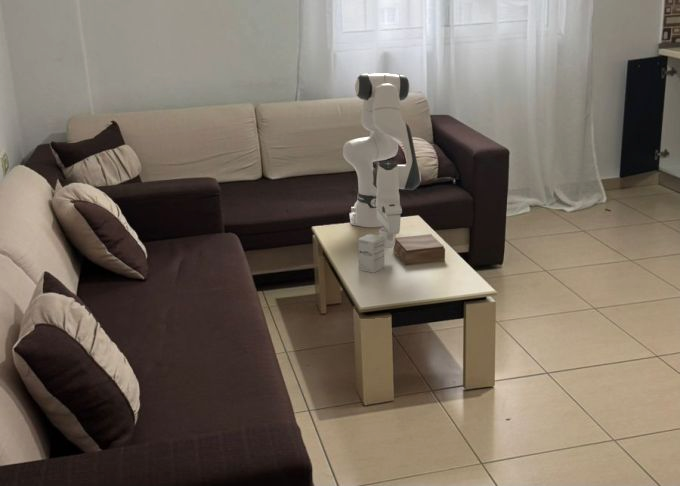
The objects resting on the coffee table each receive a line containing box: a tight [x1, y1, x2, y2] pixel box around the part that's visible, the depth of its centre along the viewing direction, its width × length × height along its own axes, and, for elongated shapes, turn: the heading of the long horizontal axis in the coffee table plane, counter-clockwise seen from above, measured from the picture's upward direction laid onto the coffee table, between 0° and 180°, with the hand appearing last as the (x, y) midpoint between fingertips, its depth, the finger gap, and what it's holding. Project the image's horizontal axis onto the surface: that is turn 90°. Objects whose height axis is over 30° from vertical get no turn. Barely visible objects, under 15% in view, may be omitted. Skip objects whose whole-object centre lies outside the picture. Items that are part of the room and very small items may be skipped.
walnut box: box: [393, 233, 446, 266], centre depth 341 cm, size 16×16×6 cm
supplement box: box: [358, 233, 385, 274], centre depth 329 cm, size 7×7×13 cm
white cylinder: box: [378, 226, 397, 249], centre depth 335 cm, size 7×7×7 cm
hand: (387, 237), depth 335 cm, fingers closed on white cylinder, 5 cm apart
